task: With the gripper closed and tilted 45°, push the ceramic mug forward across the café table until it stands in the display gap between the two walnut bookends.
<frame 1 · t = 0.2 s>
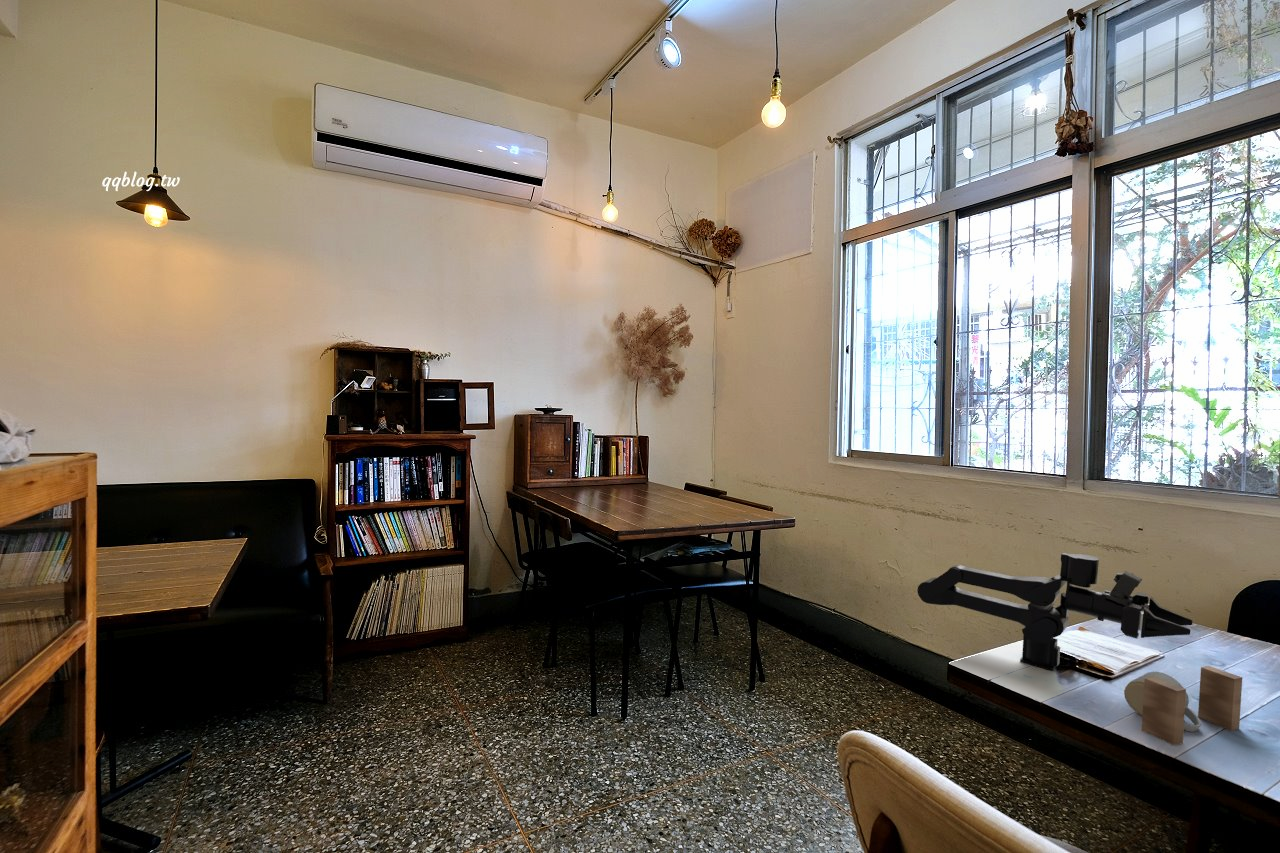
hand: (1191, 627, 115), 16 cm above the table, tool horizontal, fingers open, 9 cm apart
walnut bookends: (1190, 729, 106), on the table
ceramic mug: (1162, 718, 111), on the table
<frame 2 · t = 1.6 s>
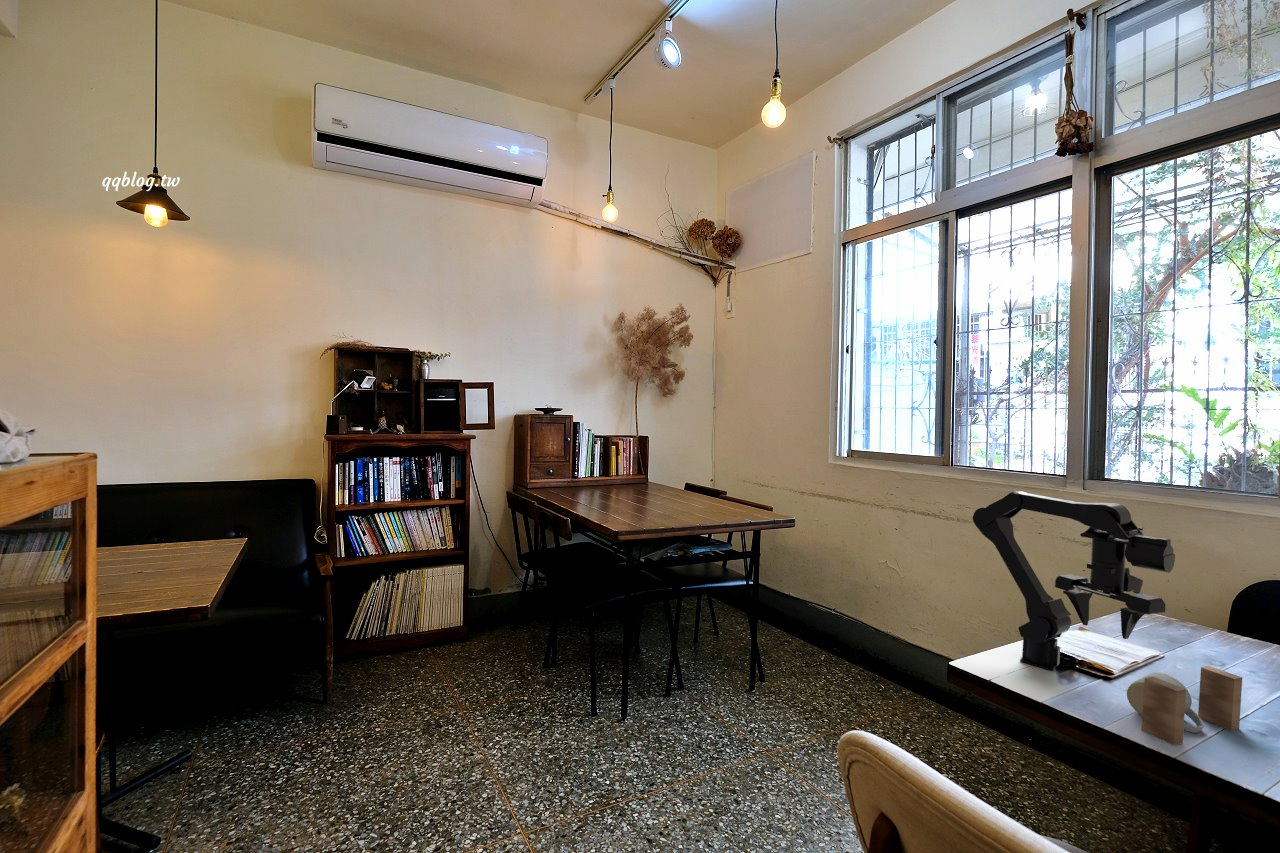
hand: (1104, 631, 123), 12 cm above the table, tool pointing down, fingers open, 8 cm apart
nothing on the table moved.
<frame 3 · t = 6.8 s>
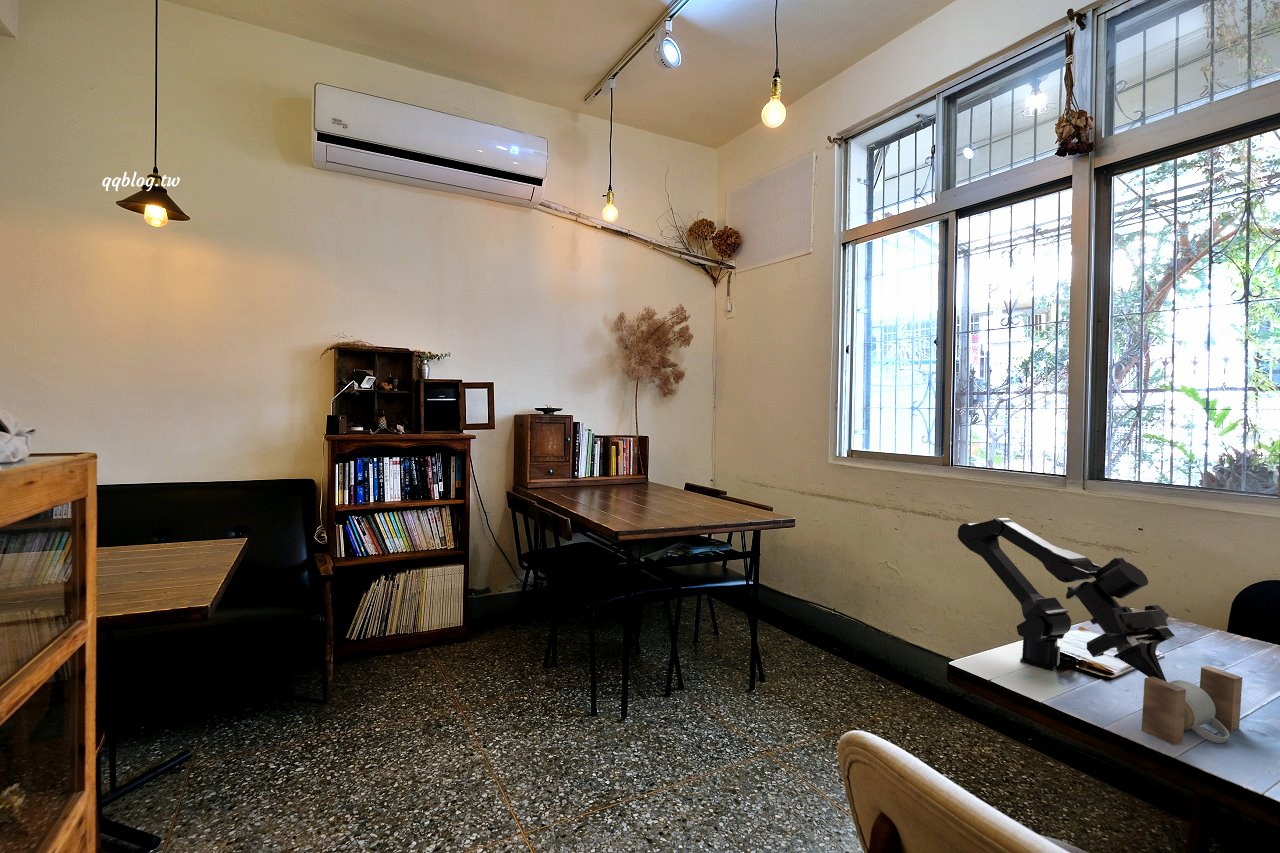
hand: (1163, 683, 111), 7 cm above the table, tool tilted 45°, fingers closed
ceramic mug: (1188, 729, 107), on the table, touching gripper
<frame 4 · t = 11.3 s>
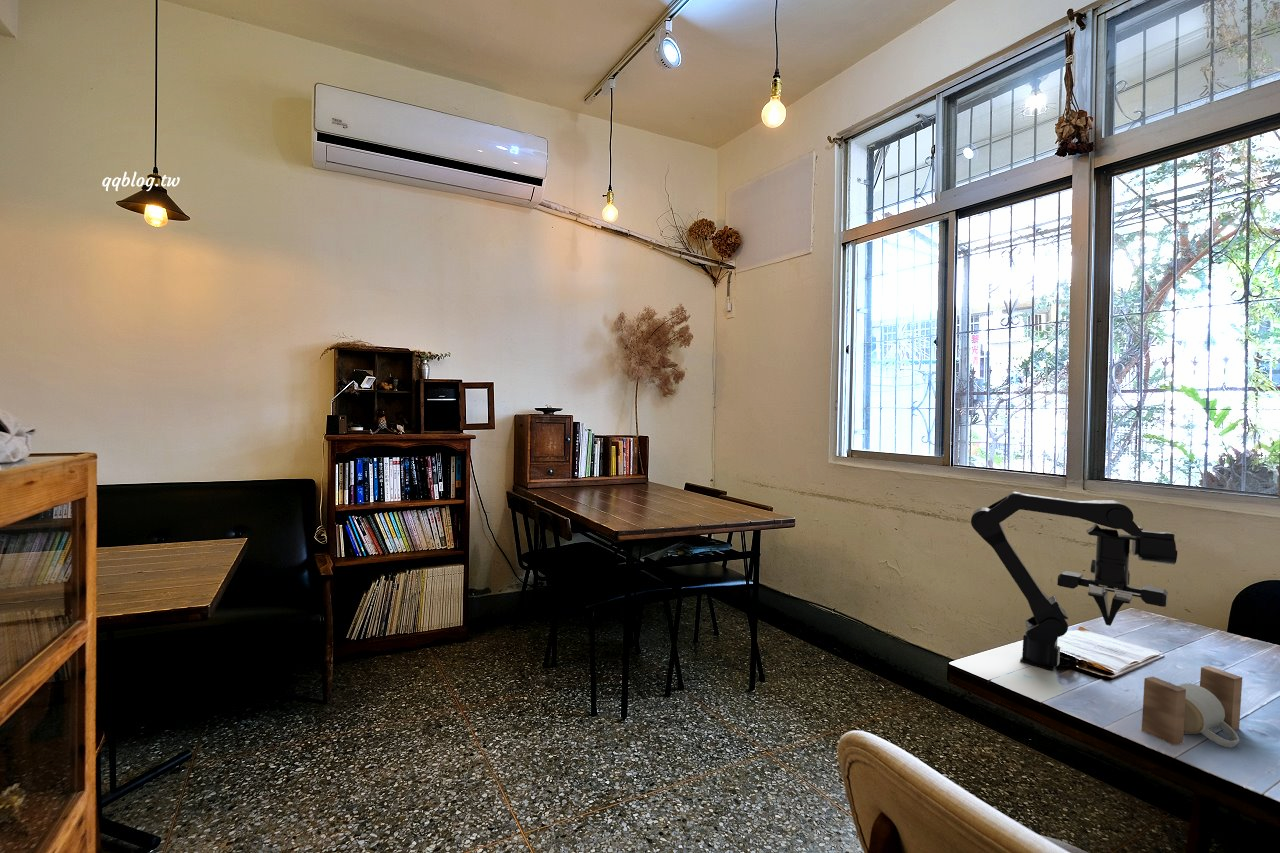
hand: (1108, 625, 127), 12 cm above the table, tool pointing down, fingers closed
ceramic mug: (1197, 733, 106), on the table
at the end: ceramic mug 0.1 cm from the target spot on the walnut bookends, point 0.0 cm above the walnut bookends's base; ceramic mug tilted 0°; ceramic mug moved 5.4 cm from its start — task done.
